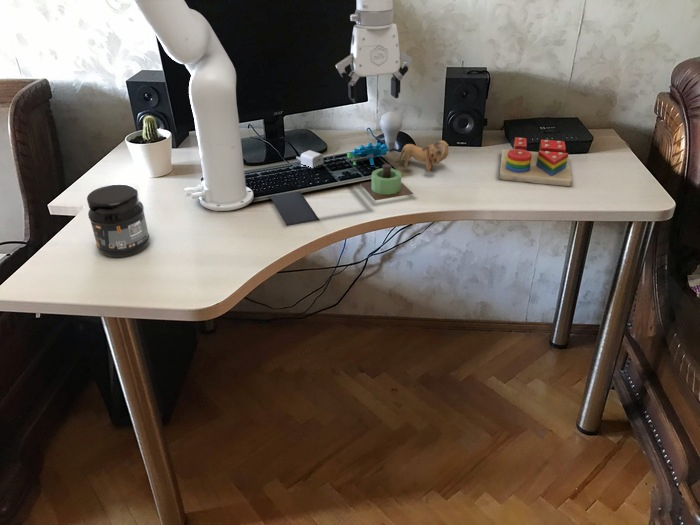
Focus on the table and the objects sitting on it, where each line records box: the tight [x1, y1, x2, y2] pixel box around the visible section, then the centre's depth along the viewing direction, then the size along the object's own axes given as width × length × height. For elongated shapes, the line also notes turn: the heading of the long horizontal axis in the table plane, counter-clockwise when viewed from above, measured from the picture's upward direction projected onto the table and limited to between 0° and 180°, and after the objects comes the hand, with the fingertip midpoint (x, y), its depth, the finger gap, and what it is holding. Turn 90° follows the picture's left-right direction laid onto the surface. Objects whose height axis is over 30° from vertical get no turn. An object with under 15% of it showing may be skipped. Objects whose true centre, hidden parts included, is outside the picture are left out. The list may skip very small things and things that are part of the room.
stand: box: [359, 163, 414, 201], centre depth 143 cm, size 10×10×7 cm
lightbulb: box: [379, 111, 403, 151], centre depth 165 cm, size 6×6×11 cm
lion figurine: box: [395, 140, 450, 172], centre depth 154 cm, size 15×5×9 cm, turn 67°
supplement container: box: [86, 183, 151, 258], centre depth 121 cm, size 10×10×12 cm
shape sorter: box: [498, 136, 573, 187], centre depth 155 cm, size 18×17×6 cm
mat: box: [269, 190, 320, 226], centre depth 140 cm, size 20×15×1 cm
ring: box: [370, 167, 402, 195], centre depth 143 cm, size 7×7×4 cm
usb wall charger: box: [295, 149, 324, 169], centre depth 157 cm, size 4×7×4 cm, turn 49°
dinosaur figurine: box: [346, 142, 390, 166], centre depth 157 cm, size 11×6×10 cm
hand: (374, 99), depth 134 cm, fingers open, 9 cm apart
